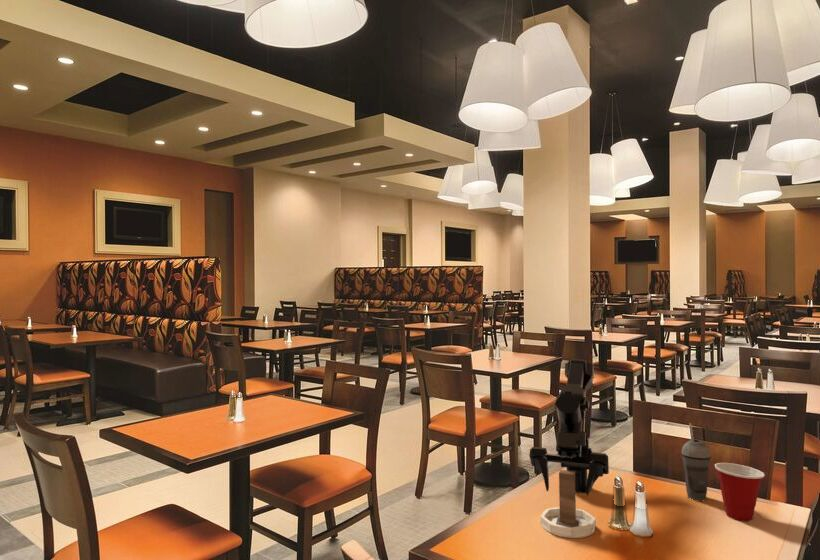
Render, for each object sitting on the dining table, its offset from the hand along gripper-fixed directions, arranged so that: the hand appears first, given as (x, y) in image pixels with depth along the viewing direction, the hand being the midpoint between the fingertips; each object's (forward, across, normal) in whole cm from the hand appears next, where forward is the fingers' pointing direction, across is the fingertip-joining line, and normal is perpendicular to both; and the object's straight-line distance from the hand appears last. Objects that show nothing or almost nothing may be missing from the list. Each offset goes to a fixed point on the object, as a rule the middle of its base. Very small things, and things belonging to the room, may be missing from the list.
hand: (566, 492), depth 132 cm
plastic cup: (-9, +40, +21) cm, 46 cm away
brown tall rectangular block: (+5, 0, +7) cm, 8 cm away
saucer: (+5, 0, +7) cm, 9 cm away
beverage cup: (-16, +31, +28) cm, 45 cm away
